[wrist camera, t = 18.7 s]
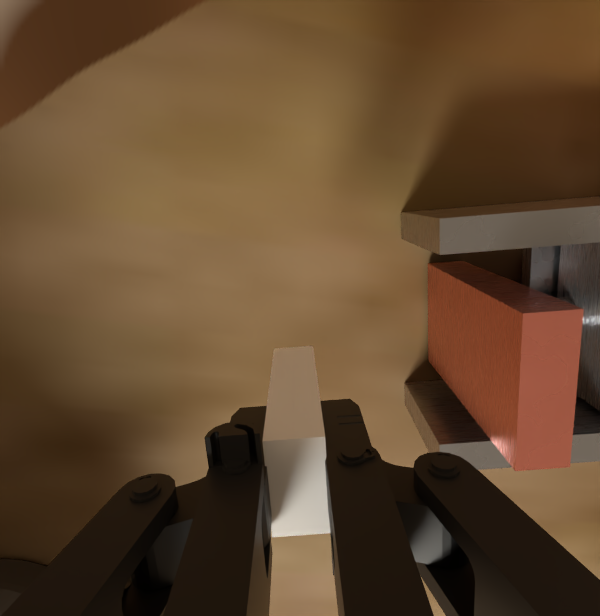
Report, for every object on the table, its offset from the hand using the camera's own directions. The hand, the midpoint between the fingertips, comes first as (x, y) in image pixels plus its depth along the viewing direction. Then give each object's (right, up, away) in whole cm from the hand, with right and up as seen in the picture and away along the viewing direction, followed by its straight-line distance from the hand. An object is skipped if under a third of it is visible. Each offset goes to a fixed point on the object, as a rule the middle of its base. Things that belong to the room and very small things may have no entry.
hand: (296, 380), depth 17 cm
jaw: (+13, +3, +9) cm, 16 cm away
